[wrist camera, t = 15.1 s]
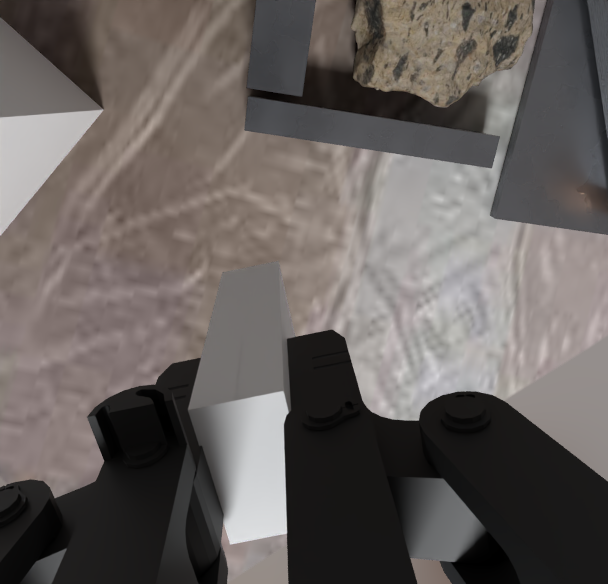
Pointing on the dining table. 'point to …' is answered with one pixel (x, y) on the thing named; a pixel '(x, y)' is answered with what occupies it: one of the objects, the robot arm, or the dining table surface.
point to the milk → (34, 120)
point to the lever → (601, 47)
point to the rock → (437, 44)
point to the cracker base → (455, 142)
